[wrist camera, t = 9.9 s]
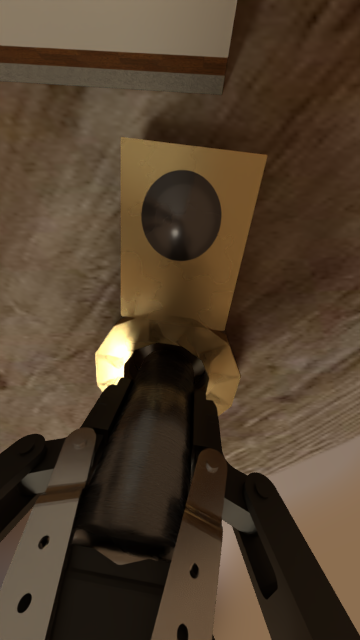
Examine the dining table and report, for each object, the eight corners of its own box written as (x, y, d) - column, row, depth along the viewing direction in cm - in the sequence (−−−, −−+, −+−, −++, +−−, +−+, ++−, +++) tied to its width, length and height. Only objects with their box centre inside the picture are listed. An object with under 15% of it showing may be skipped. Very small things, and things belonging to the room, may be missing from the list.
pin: (140, 388, 15) (71, 567, 7) (142, 345, 14) (55, 512, 5) (189, 396, 15) (179, 588, 7) (197, 354, 13) (198, 538, 5)
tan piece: (112, 450, 21) (92, 500, 17) (104, 154, 11) (46, 101, 6) (203, 466, 21) (204, 521, 17) (286, 177, 10) (344, 136, 6)
